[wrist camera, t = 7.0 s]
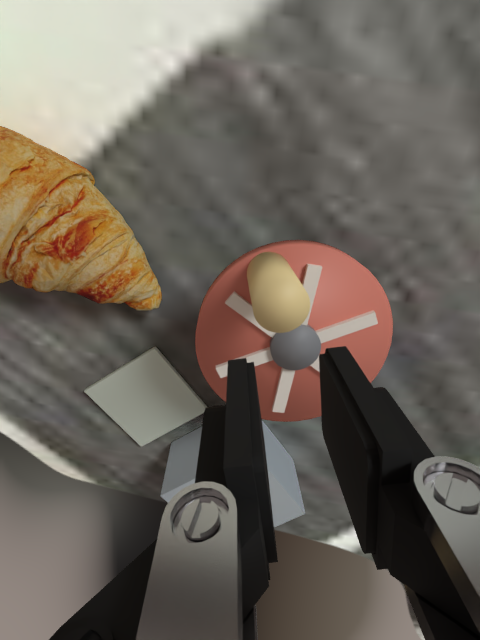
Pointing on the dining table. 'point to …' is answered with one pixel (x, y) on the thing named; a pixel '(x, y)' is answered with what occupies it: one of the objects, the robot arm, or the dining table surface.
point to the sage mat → (147, 397)
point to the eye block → (278, 464)
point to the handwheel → (291, 322)
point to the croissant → (66, 230)
